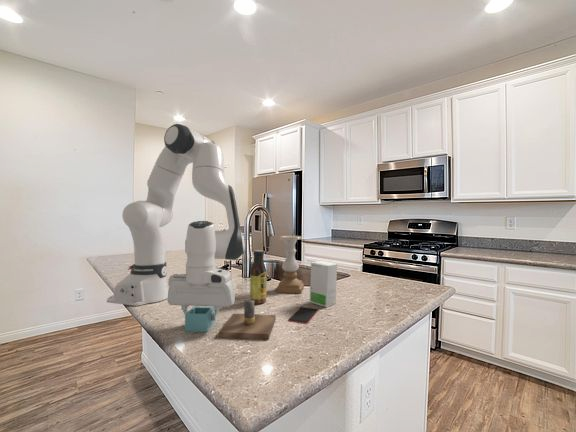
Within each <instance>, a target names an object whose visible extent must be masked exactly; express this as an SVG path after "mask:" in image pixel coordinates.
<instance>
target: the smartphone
mask: <svg viewBox="0 0 576 432" xmlns="http://www.w3.org/2000/svg"><path fill="white" fill-rule="evenodd" d="M318 312H319V309H318V308H311V307H305V306H301V307H299V308H298V309H297V310H296V311H295V312H294V313H293V314H292V315H291V316H290V317H289V318H288V319H287V321H288V322H290V323H295V324H303V325H308V324H309V323H310V322H311V321H312V319H313V318H314V317H315V316H316V315H317V313H318Z"/></svg>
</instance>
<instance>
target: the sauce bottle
mask: <svg viewBox="0 0 576 432" xmlns="http://www.w3.org/2000/svg"><path fill="white" fill-rule="evenodd" d="M264 254H265V251H264V250H263V249H257V250H253V262H252V263H253V264H252V265H251V266H250V277H249V278H250V283H249V287H250V290H249V293H250V294H249V295H250V296H249V297H250V300H254V305H260V304H264V303H266V302H267V284H268V283H267V280H268V279H267V273H268V272H267V269H266V265H265V262H264Z"/></svg>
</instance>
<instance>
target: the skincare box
mask: <svg viewBox="0 0 576 432" xmlns="http://www.w3.org/2000/svg"><path fill="white" fill-rule="evenodd" d="M337 275H338V263H334V262H330V261H324V260H316V261H313V262H310V282H309V283H310V284H309V285H310V286H309V287H310V288H309V303H311V304H314V305H318V306H320V307H325V308H328V307H330V306H333V305H335V304H336V300H337V283H338V282H337Z"/></svg>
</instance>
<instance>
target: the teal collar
mask: <svg viewBox="0 0 576 432" xmlns="http://www.w3.org/2000/svg"><path fill="white" fill-rule="evenodd" d="M213 313H215V310H214V306H192V308H190V309H189V311H188V312H187V313H186V314H184V331H185V332H191V333H192V332H193V333H195V332H196V333H199V332H200V333H208V332H209V331H210V329H211V328H212V327H213V326H214V324H215V321H211V315H212V314H213Z"/></svg>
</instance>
